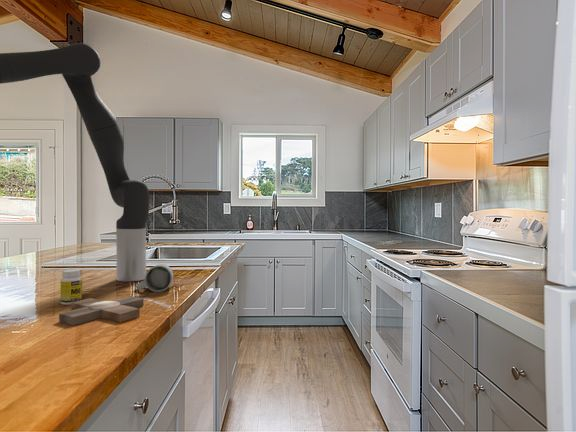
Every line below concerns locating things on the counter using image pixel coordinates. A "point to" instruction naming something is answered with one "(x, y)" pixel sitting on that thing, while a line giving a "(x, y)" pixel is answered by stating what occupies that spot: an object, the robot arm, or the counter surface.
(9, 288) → the counter surface
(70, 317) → the walnut cross joint
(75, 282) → the supplement bottle
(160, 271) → the ceramic mug
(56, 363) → the counter surface
